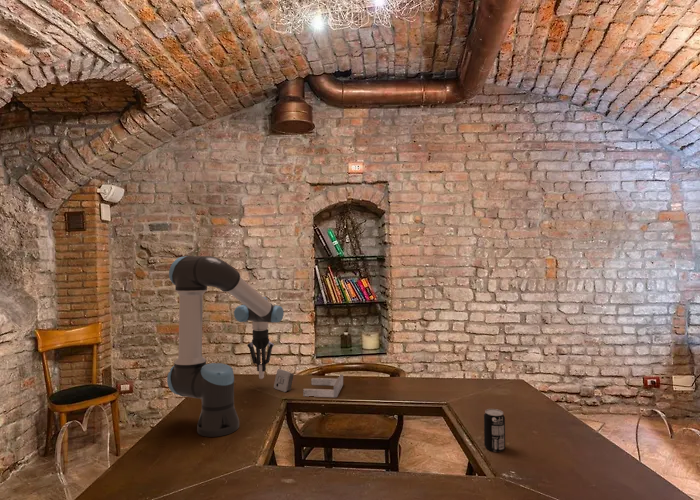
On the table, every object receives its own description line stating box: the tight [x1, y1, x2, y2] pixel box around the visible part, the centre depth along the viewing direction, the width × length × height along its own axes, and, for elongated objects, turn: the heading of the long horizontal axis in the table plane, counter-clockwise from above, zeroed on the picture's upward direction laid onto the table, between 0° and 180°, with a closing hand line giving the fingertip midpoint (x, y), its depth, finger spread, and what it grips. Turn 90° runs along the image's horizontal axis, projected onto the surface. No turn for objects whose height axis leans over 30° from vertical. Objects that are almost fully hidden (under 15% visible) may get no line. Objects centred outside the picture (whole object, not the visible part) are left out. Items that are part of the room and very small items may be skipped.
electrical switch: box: [273, 368, 295, 393], centre depth 208 cm, size 9×5×9 cm, turn 46°
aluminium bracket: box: [302, 374, 344, 398], centre depth 206 cm, size 18×16×5 cm
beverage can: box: [483, 408, 506, 453], centre depth 145 cm, size 7×7×12 cm
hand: (261, 377), depth 210 cm, fingers closed
